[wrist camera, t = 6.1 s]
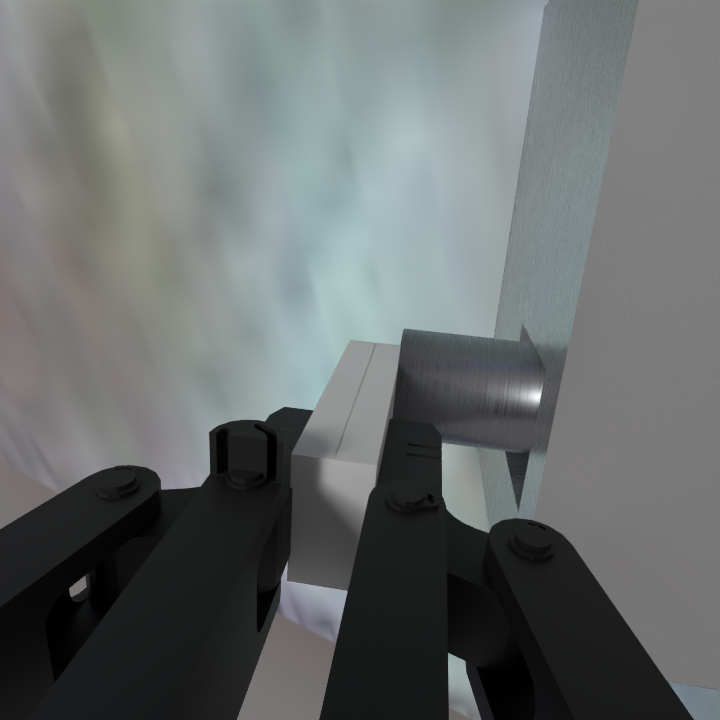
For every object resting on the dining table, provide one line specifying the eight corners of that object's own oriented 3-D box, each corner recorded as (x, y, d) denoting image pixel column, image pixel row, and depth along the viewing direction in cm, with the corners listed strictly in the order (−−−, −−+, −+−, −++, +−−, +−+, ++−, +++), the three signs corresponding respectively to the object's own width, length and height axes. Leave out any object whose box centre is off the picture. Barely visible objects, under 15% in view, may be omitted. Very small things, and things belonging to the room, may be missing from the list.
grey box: (477, 442, 23) (504, 655, 13) (544, 7, 18) (679, -199, 8) (675, 466, 22) (866, 714, 12) (810, 16, 17) (1357, -204, 7)
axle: (395, 420, 17) (388, 450, 14) (406, 324, 16) (401, 333, 13) (968, 494, 15) (1098, 545, 12) (998, 388, 15) (1141, 415, 12)
